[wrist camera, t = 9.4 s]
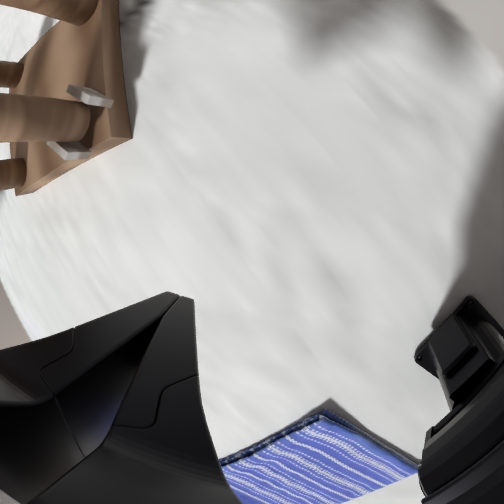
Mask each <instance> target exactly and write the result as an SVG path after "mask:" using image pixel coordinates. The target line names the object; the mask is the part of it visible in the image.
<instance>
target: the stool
mask: <svg viewBox="0 0 504 504" xmlns="http://www.w3.org/2000/svg"><path fill="white" fill-rule="evenodd" d="M0 4H1V5H6V6H10V7H15V8H19V9H23V10H27V11H31V12H35V13H38V14H42V15H45V16H49V17H52V18H55V19H58V20H60V21H59V22H58V23H57V24H55V25H54V26H53V27H52V28H51V29H50V30H49V31H48V32H47V33H46V34H45V35H44V36H43V37H42V38H41V39H40V40H39V41H38V42H37V43H36V44H35V45H34V46H33V47H32V48H31V49H30V50H29V51H28V52H27V53H26V54H25V55H24V56H23V58H22V59H21V60H20V61H19V62H18V63H16V62H8V61H0V87H5V88H9V94H20V95H31V96H41V97H49V98H57V99H65V100H72V101H78V102H84V103H85V104H87V105H88V106H89V109H90V123H89V127H88V129H87V132H86V134H85V135H84V136H83V138H82V139H81V140H79V141H77V142H53V141H36V142H10V153H11V159H6V160H0V191H2V190H7V189H12V188H15V194H16V196H19V195H24V194H29V193H33V192H35V191H36V190H38V189H39V188H41V187H43V186H44V185H46V184H47V183H49V182H51V181H52V180H54V179H56V178H57V177H59V176H61V175H62V174H64V173H66V172H68V171H69V170H71V169H73V168H75V167H76V166H78V165H80V164H82V163H84V162H86V161H88V160H89V159H91V158H93V157H95V156H97V155H99V154H101V153H103V152H105V151H107V150H109V149H111V148H113V147H115V146H117V145H119V144H122V143H124V142H126V141H128V140H130V139H132V134H131V128H130V122H129V115H128V108H127V101H126V93H125V85H124V77H123V67H122V57H121V44H120V29H119V5H118V0H0Z"/></svg>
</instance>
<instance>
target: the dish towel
mask: <svg viewBox="0 0 504 504" xmlns="http://www.w3.org/2000/svg"><path fill="white" fill-rule="evenodd" d="M219 463H220V465H221V468H222V470H223V473H224V475H225V477H226V479H227V481H228V483H229V485H230V487H231V489H232V490H233V491H234V493H235V494H236V495H237V496H238V498H239V499H240V500H241V502H242V503H243V504H341V503H343V502H346V501H349V500H352V499H354V498H357V497H360V496H362V495H365V494H368V493H370V492H373V491H375V490H377V489H379V488H383V487H385V486H387V485H389V484H391V483H394V482H397V481H400V480H402V479H404V478H406V477H408V476H410V475H413V474H415V473H417V472H418V467H419V466H418V465H417V464H416V463H415V462H413V461H412V460H410V459H408V458H407V457H405V456H403V455H402V454H401V453H399V452H397V451H396V450H394V449H392V448H390V447H389V446H387V445H385V444H384V443H382V442H380V441H379V440H377V439H376V438H374V437H373V436H371V435H370V434H368V433H366V432H365V431H363V430H361V429H360V428H358V427H356V426H355V425H353V424H352V423H350V422H348V421H347V420H346V419H344V418H342V417H340V416H338V415H337V414H335V413H333V412H331V411H329V410H328V409H324V411H323V412H322V413H320V414H316V415H314V416H311V417H308V418H306V419H305V420H303V421H301V422H299V423H297V424H296V425H294V426H292V427H290V428H287V429H286V430H284V431H282V432H280V433H278V434H277V435H275V436H272V437H270V438H268V439H267V440H265V441H263V442H261V443H258V444H255V445H253V446H251V447H249V448H247V449H245V450H242V451H239V452H238V453H236V454H233V455H231V456H228V457H226V458H223V459H220V460H219Z"/></svg>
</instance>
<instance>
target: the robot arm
mask: <svg viewBox="0 0 504 504" xmlns="http://www.w3.org/2000/svg"><path fill="white" fill-rule="evenodd" d="M470 301H472V303H471V304H470V305H468V304H469V302H470ZM420 356H422V357H421V358H419V357H420ZM414 359H415V362H416V363H417V364H419V365H420V366H421V367H423V368H424V369H425V370H427V371H428V372H430V373H431V374H432V375H434V376H435V377H436V378H438V379H439V380H440V383H441V386H442V388H443V391H444V394H445V397H446V400H447V403H448V406H449V409H450V412H449V413H448V414H447V415H446V416H445V417H444V418H443V419H442V420H441V421H440V422H439V423H438V424H436V425H435V426H433V427H431V428H430V429H429V430H428V431H427V432H426V438H425V445H424V449H423V452H422V461H421V465H420V466H419V467H418V477H419V484H420V487H421V490H422V492H423V494H424V496H425V498H423V499H422V500H421V502H422V504H504V330H503V328H502V327H501V326H500V325H499V324H498V323H497V322H496V320H495V319H494V318H493V317H492V316H491V315H490V314H489V313H488V311H487V310H486V309H485V308H484V307H483V306H482V305H481V304H480V303H479V302H478V301H477V300H476V299H475V298H474V296H472V295H470V296H468V297H466V298H465V300H464V301H463V302H462V303H461V304H460V306H459V307H458V308H457V309H456V310H455V312H454V313H453V314H452V315H451V316H450V317H449V318H448V319H447V320H446V321H445V322H444V324H443V325H442V326H441V327H440V328H439V329H438V330H437V331H436V332H435V333H434V334H433V335H432V336H431V337H430V339H429V340H428V341H427V342H426V343H425V344H424V345H423V346H422V347H421V348H420V349H419V350H418V351H417V352H416V353H415V355H414ZM198 376H199V373H198V359H197V344H196V327H195V306H194V300H193V299H191V298H188V297H184V296H179V295H178V294H175V293H171V292H164V293H161V294H159V295H156V296H154V297H151V298H148V299H146V300H143V301H141V302H138V303H136V304H133V305H130V306H128V307H125V308H123V309H120V310H118V311H115V312H112V313H110V314H107V315H105V316H102V317H99V318H97V319H94V320H92V321H89V322H86V323H84V324H81V325H79V326H76V327H75V328H71V329H68V330H65V331H63V332H60V333H57V334H54V335H51V336H49V337H46V338H42V339H39V340H35V341H32V342H29V343H25V344H21V345H17V346H14V347H10V348H6V349H2V350H0V504H243V503H242V502H241V500H240V499H239V498H238V496H237V495H236V494H235V493H234V491H233V490H232V489H231V487H230V485H229V483H228V481H227V479H226V477H225V475H224V473H223V470H222V468H221V465H220V463H219V460H218V457H217V454H216V451H215V448H214V445H213V441H212V438H211V435H210V432H209V429H208V425H207V422H206V418H205V414H204V410H203V406H202V400H201V393H200V384H199V377H198Z"/></svg>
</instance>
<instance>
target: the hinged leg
mask: <svg viewBox="0 0 504 504" xmlns="http://www.w3.org/2000/svg"><path fill="white" fill-rule="evenodd" d="M89 123H90V109H89V106H88V105H87V104H85V103H84V102H78V101H72V100H65V99H57V98H49V97H41V96H31V95H20V94H5V93H0V143H2V142H36V141H53V142H77V141H79V140H81V139H82V138H83V136H84V135H85V134H86V132H87V129H88V127H89Z"/></svg>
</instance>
